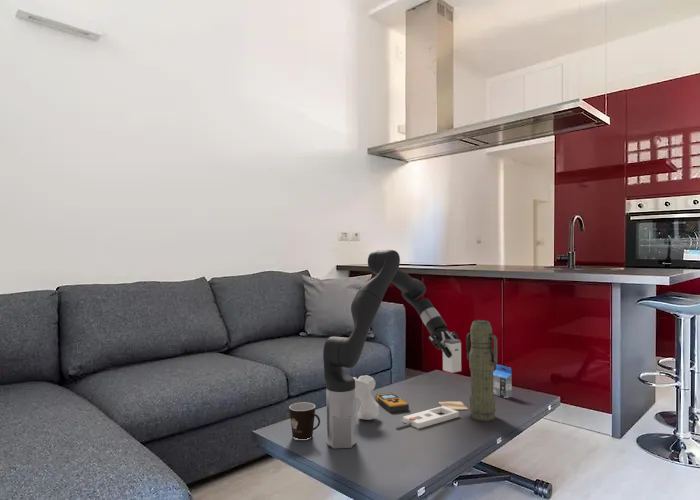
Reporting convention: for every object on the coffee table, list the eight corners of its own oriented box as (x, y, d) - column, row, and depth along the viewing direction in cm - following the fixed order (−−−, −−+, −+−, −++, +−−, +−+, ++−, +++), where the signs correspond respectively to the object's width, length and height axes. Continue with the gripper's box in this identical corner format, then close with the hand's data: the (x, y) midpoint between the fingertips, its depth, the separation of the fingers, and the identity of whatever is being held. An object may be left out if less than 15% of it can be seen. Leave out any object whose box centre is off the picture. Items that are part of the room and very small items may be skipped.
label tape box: (489, 393, 190) (489, 364, 191) (496, 392, 192) (495, 363, 193) (505, 399, 183) (505, 369, 183) (512, 397, 185) (512, 367, 185)
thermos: (472, 410, 170) (470, 318, 170) (502, 417, 162) (501, 320, 163) (462, 417, 163) (460, 320, 163) (493, 424, 155) (492, 323, 156)
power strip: (458, 416, 163) (458, 410, 163) (404, 432, 149) (404, 425, 149) (443, 410, 170) (443, 404, 170) (389, 425, 155) (389, 418, 155)
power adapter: (461, 370, 174) (461, 340, 174) (452, 372, 171) (452, 341, 172) (451, 368, 178) (451, 338, 179) (442, 370, 176) (442, 339, 176)
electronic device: (390, 415, 168) (389, 406, 168) (374, 402, 182) (374, 393, 182) (410, 412, 170) (410, 403, 170) (393, 399, 185) (393, 391, 185)
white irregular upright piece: (370, 426, 155) (370, 382, 155) (343, 420, 161) (343, 378, 161) (383, 417, 163) (383, 376, 163) (357, 412, 169) (357, 372, 169)
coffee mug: (286, 434, 148) (286, 404, 148) (311, 430, 152) (310, 400, 152) (296, 448, 137) (295, 415, 138) (322, 443, 141) (322, 411, 141)
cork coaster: (467, 409, 170) (467, 408, 170) (444, 410, 170) (444, 409, 170) (460, 402, 179) (460, 401, 179) (438, 402, 179) (438, 401, 179)
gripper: (424, 316, 177) (447, 352, 167) (450, 314, 185) (473, 347, 175) (415, 328, 182) (437, 363, 172) (441, 325, 190) (463, 358, 180)
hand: (455, 355), depth 173 cm, fingers closed on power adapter, 5 cm apart
